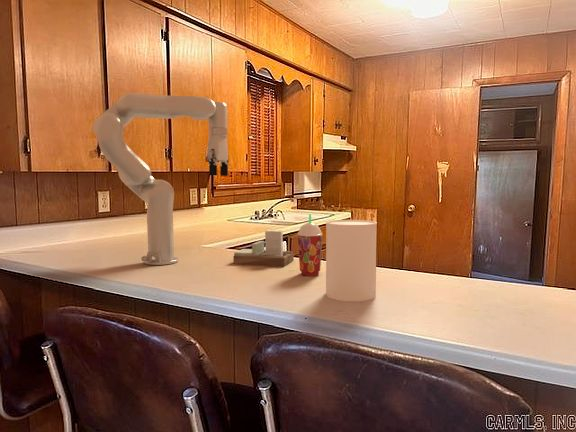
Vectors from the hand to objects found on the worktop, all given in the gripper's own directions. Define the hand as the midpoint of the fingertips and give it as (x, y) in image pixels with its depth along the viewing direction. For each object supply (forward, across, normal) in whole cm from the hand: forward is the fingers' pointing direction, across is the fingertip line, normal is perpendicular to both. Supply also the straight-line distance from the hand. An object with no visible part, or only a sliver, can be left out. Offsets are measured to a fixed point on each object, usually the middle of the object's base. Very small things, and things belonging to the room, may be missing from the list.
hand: (218, 175), depth 176 cm
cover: (+30, +9, +17) cm, 36 cm away
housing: (+33, +9, +23) cm, 41 cm away
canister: (+34, +44, +62) cm, 83 cm away
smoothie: (+33, +24, +45) cm, 61 cm away
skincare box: (+33, +9, +27) cm, 44 cm away
